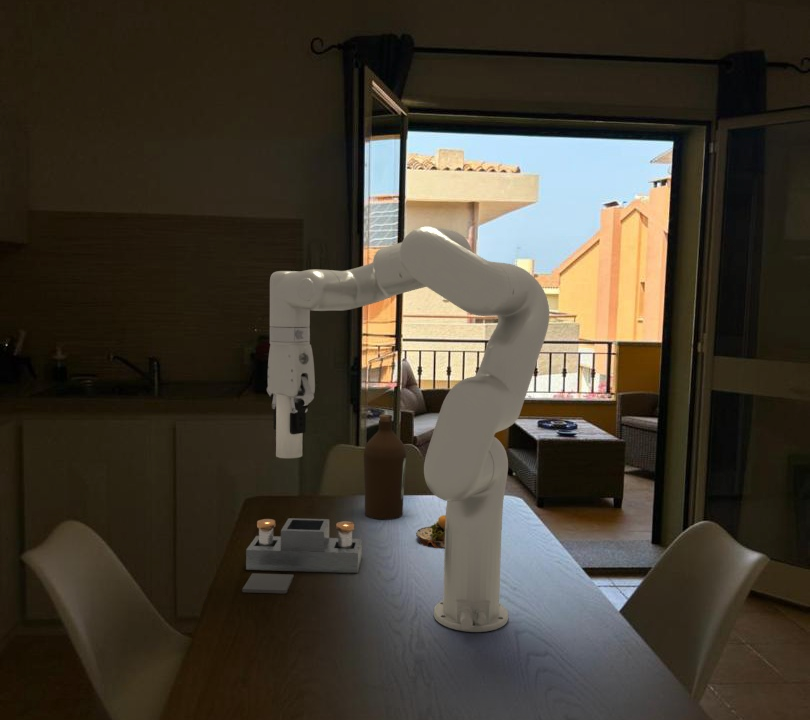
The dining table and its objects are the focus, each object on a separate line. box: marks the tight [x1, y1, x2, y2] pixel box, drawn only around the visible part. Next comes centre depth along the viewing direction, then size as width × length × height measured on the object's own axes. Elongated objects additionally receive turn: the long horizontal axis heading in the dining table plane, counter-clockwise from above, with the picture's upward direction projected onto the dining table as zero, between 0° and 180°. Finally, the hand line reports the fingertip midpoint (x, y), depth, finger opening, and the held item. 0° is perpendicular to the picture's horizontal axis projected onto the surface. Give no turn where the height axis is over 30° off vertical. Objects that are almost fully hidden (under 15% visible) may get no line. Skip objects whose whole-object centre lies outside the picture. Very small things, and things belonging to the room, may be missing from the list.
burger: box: [415, 514, 446, 549], centre depth 172 cm, size 12×12×8 cm
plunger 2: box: [335, 520, 355, 549], centre depth 155 cm, size 4×4×8 cm
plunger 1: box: [256, 518, 276, 546], centre depth 155 cm, size 4×4×8 cm
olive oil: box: [363, 413, 407, 520], centre depth 191 cm, size 11×11×25 cm
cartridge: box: [275, 393, 304, 459], centre depth 147 cm, size 5×5×13 cm
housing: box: [245, 517, 363, 574], centre depth 155 cm, size 22×9×8 cm, turn 89°
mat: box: [241, 572, 295, 595], centre depth 143 cm, size 8×8×1 cm
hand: (289, 430), depth 147 cm, fingers closed on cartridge, 5 cm apart
